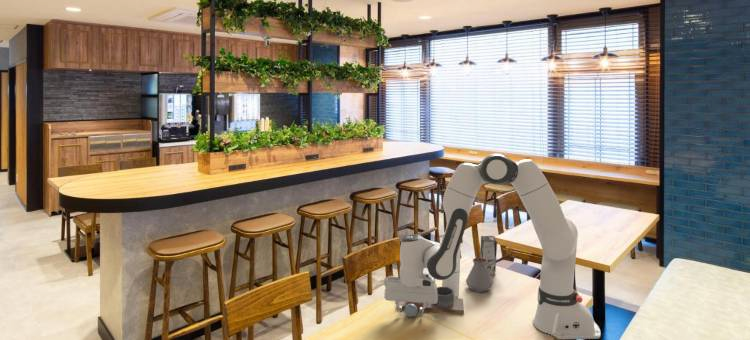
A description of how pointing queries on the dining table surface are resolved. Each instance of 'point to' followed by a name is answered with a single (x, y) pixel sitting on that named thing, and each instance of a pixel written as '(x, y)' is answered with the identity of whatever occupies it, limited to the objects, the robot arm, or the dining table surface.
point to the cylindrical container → (454, 277)
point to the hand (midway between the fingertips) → (410, 311)
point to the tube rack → (441, 303)
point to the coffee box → (489, 252)
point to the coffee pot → (481, 275)
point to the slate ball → (411, 310)
